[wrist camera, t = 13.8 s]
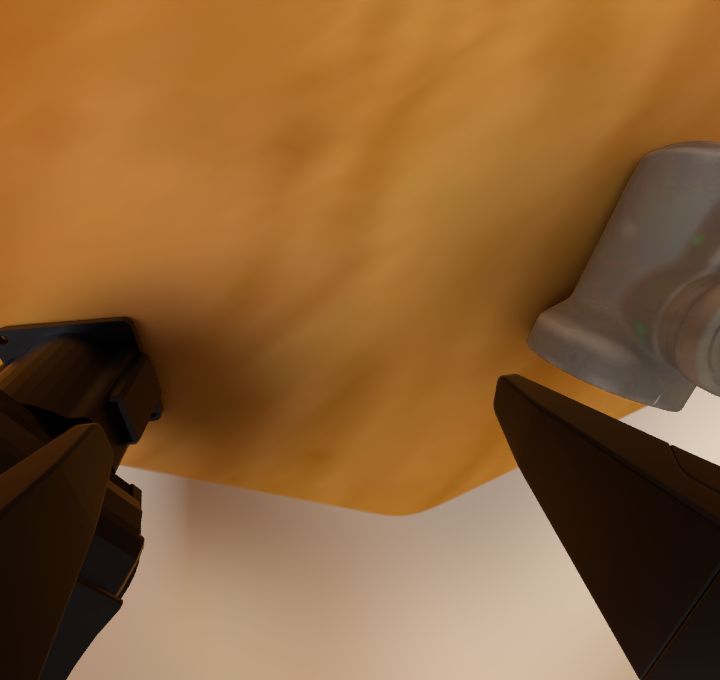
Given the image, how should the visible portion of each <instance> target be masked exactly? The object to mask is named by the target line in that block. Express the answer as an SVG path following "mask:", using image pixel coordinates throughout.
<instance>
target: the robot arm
mask: <svg viewBox="0 0 720 680" xmlns="http://www.w3.org/2000/svg"><path fill="white" fill-rule="evenodd" d="M119 325H123V326H125V327H126V328H127V330H122V329H120V327H119ZM1 336H4V337H6V338H7V339H8V341H6V340H4V339H3V338H2V337H1ZM0 358H1V360H2V362H3V364H2V365H1V366H0V680H66V679H67V677H68V676H69V674H70V672H71V671H72V669H73V668H74V666H75V665H76V663H77V662H78V660H79V659H80V658H81V656H82V655H83V653H84V652H85V651H86V649H87V648H88V646H89V645H90V644H91V642H92V641H93V640H94V638H95V637H96V636H97V634H98V633H99V632H100V631H101V630H102V629H103V628H104V626H105V625H106V624H107V623H108V622H109V621H110V620H111V618H112V617H113V616H114V615H115V614H116V613H117V612H118V611H119V609H120V608H121V606H122V604H123V600H122V599H121V598H122V596H123V595H124V593H125V592H126V590H127V588H128V587H129V585H130V583H131V581H132V579H133V577H134V574H135V572H136V569H137V566H138V563H139V558H140V555H141V552H142V550H143V547H144V537H143V536H141V518H142V510H141V496H142V495H141V493H142V491H141V490H140V489H139V488H138V487H136V486H135V485H134V484H130V485H129V484H128V483H127V482H125V481H124V480H123V479H121V478H120V477H118V476H117V475H116V474H115V473H116V471H117V469H118V466H119V464H120V462H121V460H122V458H123V456H124V454H125V452H126V450H127V448H128V446H129V445H132V444H136V443H137V442H138V441H139V440H140V438H141V436H142V434H143V432H144V430H145V427H146V425H147V423H148V421H155V420H158V419H159V418H160V417H161V415H162V413H163V407H162V404H161V401H160V398H159V397H160V395H161V389H160V386H159V383H158V380H157V377H156V374H155V371H154V368H153V365H152V362H151V359H150V357H149V356H148V355H147V354H146V353H144V351H143V348H142V346H141V343H140V340H139V337H138V334H137V331H136V328H135V325H134V323H133V322H132V321H131V320H130V319H128V318H125V317H117V318H106V319H94V320H83V321H71V322H60V323H48V324H37V325H26V326H14V327H3V328H0ZM153 411H155V412H156V413H152V412H153ZM494 411H495V414H496V416H497V419H498V421H499V423H500V425H501V428H502V430H503V432H504V435H505V437H506V439H507V442H508V444H509V446H510V449H511V451H512V453H513V456H514V458H515V460H516V462H517V464H518V466H519V468H520V470H521V472H522V474H523V476H524V477H525V479H526V481H527V483H528V484H529V486H530V488H531V489H532V492H533V493H534V495H535V497H536V499H537V500H538V502H539V504H540V506H541V507H542V509H543V511H544V513H545V514H546V516H547V518H548V520H549V521H550V523H551V525H552V527H553V528H554V530H555V532H556V534H557V535H558V537H559V539H560V541H561V543H562V544H563V546H564V548H565V549H566V551H567V553H568V555H569V556H570V558H571V560H572V562H573V564H574V565H575V567H576V569H577V570H578V572H579V574H580V576H581V578H582V579H583V581H584V583H585V585H586V587H587V588H588V590H589V592H590V593H591V595H592V597H593V599H594V600H595V602H596V604H597V606H598V608H599V609H600V611H601V613H602V615H603V616H604V618H605V620H606V622H607V623H608V625H609V627H610V628H611V631H612V632H613V634H614V636H615V637H616V639H617V641H618V643H619V644H620V646H621V648H622V650H623V651H624V653H625V655H626V657H627V659H628V660H629V662H630V664H631V666H632V667H633V669H634V671H635V673H636V675H637V676H638V678H639V679H640V680H720V466H718V465H716V464H713V463H711V462H709V461H707V460H704V459H702V458H700V457H698V456H695V455H693V454H691V453H689V452H687V451H684V450H682V449H680V448H678V447H676V446H674V445H671V446H670V445H669V444H668V443H667V442H665V441H662V440H660V439H658V438H656V437H654V436H652V435H649V434H647V433H645V432H643V431H641V430H638V429H636V428H634V427H632V426H630V425H627V424H625V423H623V422H621V421H619V420H616V419H614V418H612V417H610V416H608V415H606V414H603V413H601V412H599V411H597V410H595V409H592V408H590V407H588V406H586V405H584V404H581V403H579V402H577V401H575V400H573V399H570V398H568V397H566V396H564V395H562V394H560V393H557V392H555V391H553V390H551V389H549V388H546V387H544V386H542V385H540V384H538V383H535V382H533V381H531V380H529V379H527V378H525V377H522V376H520V375H518V374H510V375H502V376H500V377H499V378H498V381H497V386H496V392H495V398H494Z"/></svg>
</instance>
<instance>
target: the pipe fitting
mask: <svg viewBox="0 0 720 680" xmlns="http://www.w3.org/2000/svg"><path fill="white" fill-rule="evenodd" d="M526 343H527V345H528V347H529V348H530V349H531V350H532V351H534V352H535V353H536V354H537V355H539V356H540V357H541V358H543V359H544V360H546V361H547V362H549V363H550V364H552V365H554V366H556V367H558V368H559V369H561V370H563V371H565V372H567V373H568V374H570V375H572V376H574V377H576V378H578V379H580V380H582V381H585V382H587V383H589V384H591V385H593V386H595V387H598V388H600V389H603V390H605V391H607V392H610V393H612V394H615V395H618V396H621V397H624V398H627V399H629V400H632V401H636V402H639V403H642V404H645V405H649V406H652V407H656V408H660V409H663V410H667V411H673V412H678V411H680V410H681V409H682V408H683V407H684V405H685V403H686V402H687V400H688V399H689V397H690V395H691V394H692V392H693V391H694V389H695V387H696V386H698V387H700V388H702V389H704V390H706V391H708V392H710V393H711V394H714V395H716V396H719V397H720V143H718V142H706V141H692V142H681V143H676V144H672V145H668V146H665V147H662V148H660V149H657V150H654V151H652V152H650V153H648V154H646V155H645V156H643V157H642V158H641V160H640V161H639V163H638V165H637V166H636V168H635V170H634V172H633V174H632V176H631V177H630V179H629V181H628V183H627V185H626V187H625V189H624V191H623V193H622V195H621V197H620V199H619V201H618V203H617V205H616V207H615V209H614V211H613V213H612V215H611V217H610V219H609V221H608V223H607V225H606V227H605V229H604V231H603V233H602V235H601V237H600V239H599V241H598V243H597V245H596V247H595V249H594V251H593V253H592V255H591V257H590V259H589V261H588V263H587V265H586V267H585V269H584V271H583V273H582V275H581V277H580V279H579V281H578V283H577V285H576V287H575V289H574V291H573V293H572V295H571V296H570V297H569V298H567V299H566V300H564V301H562V302H560V303H558V304H556V305H554V306H552V307H550V308H548V309H547V310H545V311H543V312H542V313H541V314H540V315H539V316H538V318H537V320H536V322H535V324H534V326H533V328H532V330H531V331H530V333H529V335H528V337H527V340H526Z"/></svg>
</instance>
